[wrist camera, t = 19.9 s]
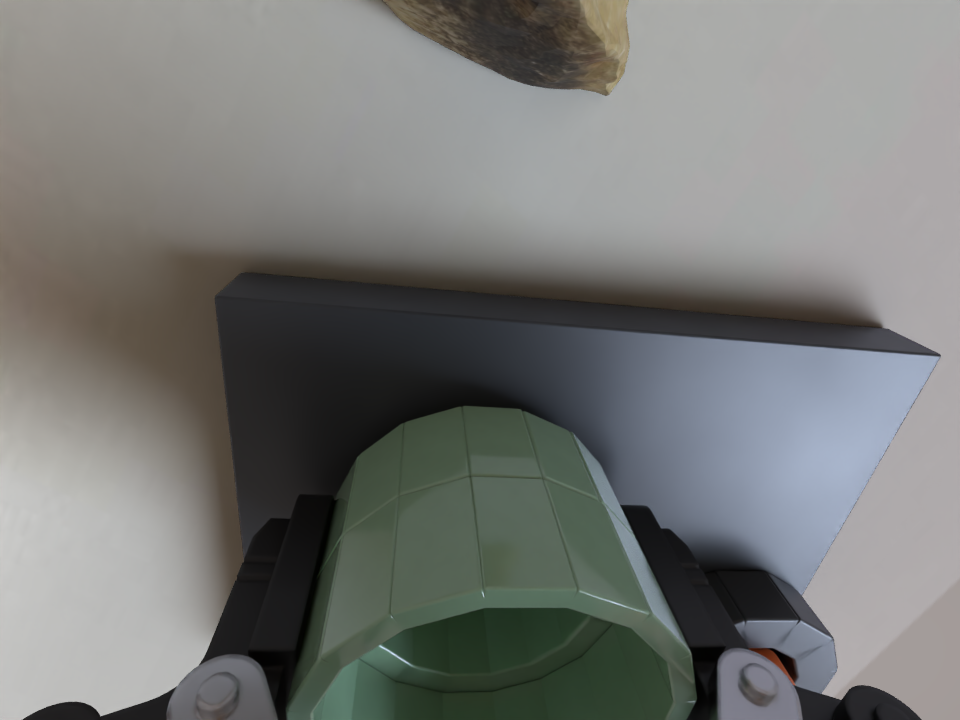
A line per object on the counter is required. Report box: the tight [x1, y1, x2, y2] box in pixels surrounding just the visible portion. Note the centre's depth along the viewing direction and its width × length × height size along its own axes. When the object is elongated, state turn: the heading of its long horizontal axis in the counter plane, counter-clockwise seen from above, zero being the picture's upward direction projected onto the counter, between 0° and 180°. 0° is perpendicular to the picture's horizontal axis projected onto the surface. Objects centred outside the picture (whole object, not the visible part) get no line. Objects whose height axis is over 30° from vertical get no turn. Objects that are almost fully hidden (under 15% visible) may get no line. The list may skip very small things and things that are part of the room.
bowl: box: [286, 406, 697, 720], centre depth 10 cm, size 6×6×5 cm
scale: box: [215, 273, 941, 694], centre depth 14 cm, size 16×13×3 cm
